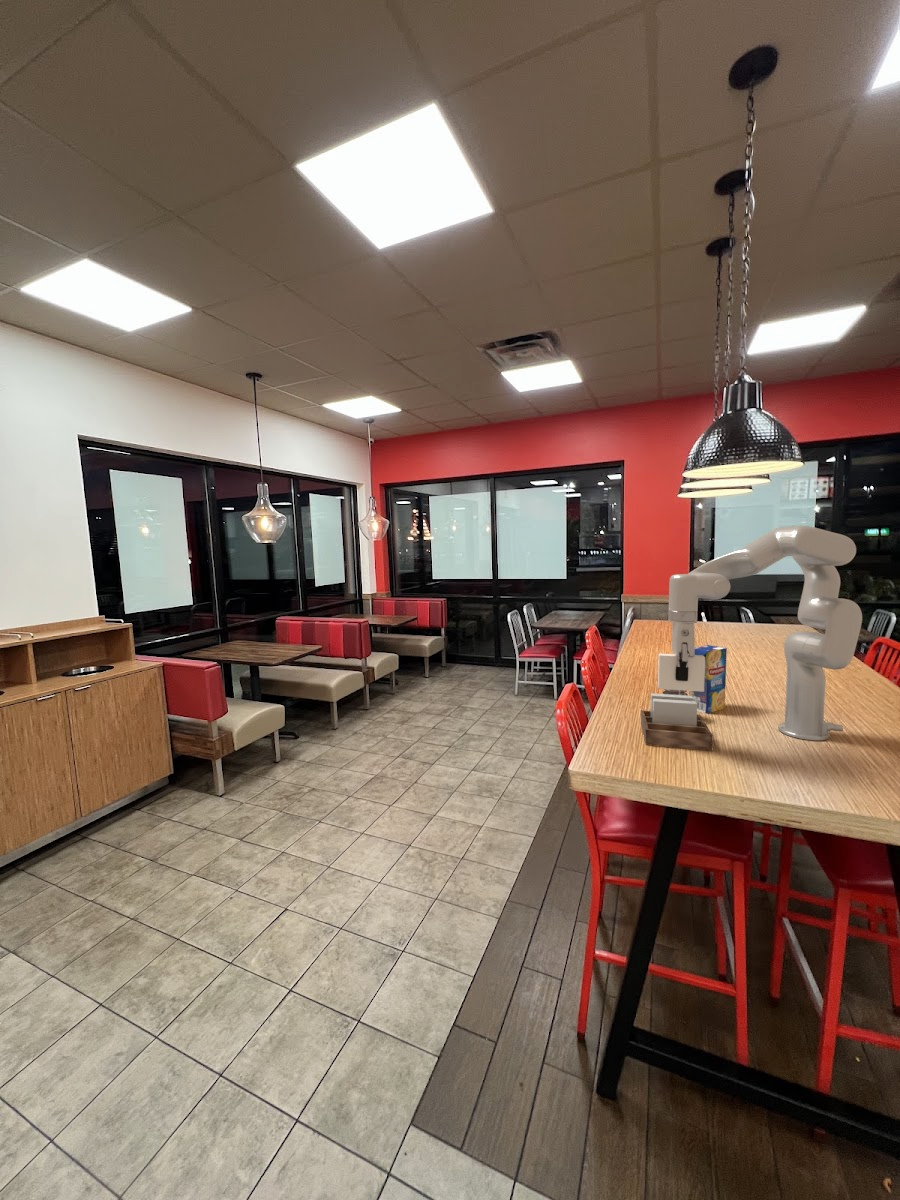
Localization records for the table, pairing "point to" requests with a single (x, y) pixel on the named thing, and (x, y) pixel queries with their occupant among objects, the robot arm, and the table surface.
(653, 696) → the racked plate far
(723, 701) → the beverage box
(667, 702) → the racked plate mid
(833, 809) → the table surface
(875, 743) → the table surface
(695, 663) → the plate
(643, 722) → the rack
